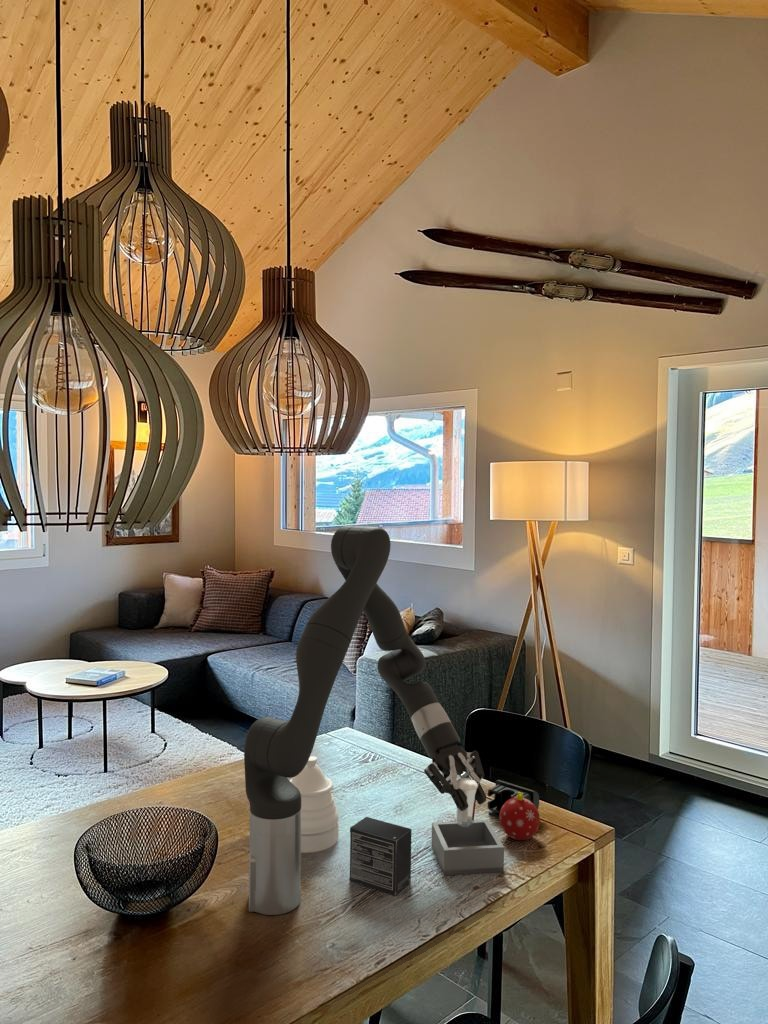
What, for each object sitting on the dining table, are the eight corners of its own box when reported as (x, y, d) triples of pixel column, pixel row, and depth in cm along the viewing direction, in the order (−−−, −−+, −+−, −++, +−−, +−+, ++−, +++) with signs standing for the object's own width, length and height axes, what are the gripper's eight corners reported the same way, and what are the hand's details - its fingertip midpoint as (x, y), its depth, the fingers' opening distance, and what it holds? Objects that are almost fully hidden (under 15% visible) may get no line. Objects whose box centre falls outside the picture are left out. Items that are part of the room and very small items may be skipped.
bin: (443, 875, 149) (444, 850, 149) (431, 845, 161) (431, 822, 161) (503, 871, 151) (504, 847, 151) (487, 842, 163) (487, 819, 162)
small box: (412, 881, 147) (413, 827, 147) (396, 897, 141) (396, 841, 141) (366, 866, 152) (366, 814, 152) (348, 880, 147) (348, 827, 146)
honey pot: (344, 848, 160) (345, 763, 159) (282, 856, 156) (283, 769, 155) (331, 821, 172) (332, 742, 171) (274, 828, 168) (274, 747, 167)
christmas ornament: (526, 851, 159) (527, 804, 159) (491, 838, 165) (492, 792, 164) (546, 837, 166) (547, 791, 165) (512, 825, 171) (513, 781, 171)
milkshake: (479, 830, 153) (481, 781, 153) (452, 827, 154) (454, 778, 154) (481, 820, 157) (482, 772, 157) (455, 817, 159) (456, 770, 158)
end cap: (539, 816, 176) (540, 787, 176) (523, 827, 170) (524, 797, 170) (501, 804, 182) (502, 776, 182) (485, 814, 177) (486, 785, 177)
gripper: (417, 727, 156) (457, 807, 147) (468, 714, 165) (508, 788, 156) (400, 745, 161) (438, 823, 152) (451, 731, 169) (489, 804, 161)
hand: (474, 805), depth 154 cm, fingers closed on milkshake, 4 cm apart
